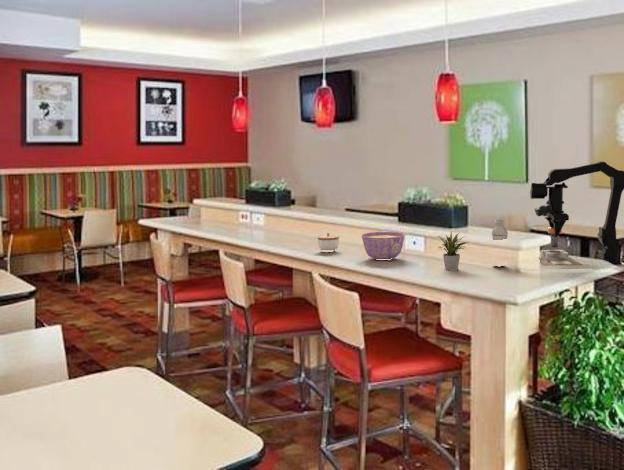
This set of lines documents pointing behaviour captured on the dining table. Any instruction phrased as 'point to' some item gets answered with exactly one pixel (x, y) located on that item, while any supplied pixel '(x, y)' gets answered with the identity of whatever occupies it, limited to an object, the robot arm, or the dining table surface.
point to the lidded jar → (328, 242)
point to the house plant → (451, 252)
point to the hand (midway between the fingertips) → (554, 234)
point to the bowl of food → (383, 244)
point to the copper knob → (554, 237)
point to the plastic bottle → (499, 231)
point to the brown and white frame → (557, 258)
